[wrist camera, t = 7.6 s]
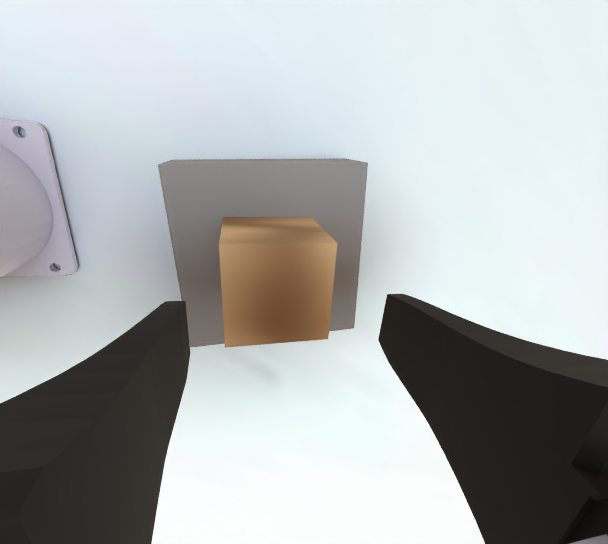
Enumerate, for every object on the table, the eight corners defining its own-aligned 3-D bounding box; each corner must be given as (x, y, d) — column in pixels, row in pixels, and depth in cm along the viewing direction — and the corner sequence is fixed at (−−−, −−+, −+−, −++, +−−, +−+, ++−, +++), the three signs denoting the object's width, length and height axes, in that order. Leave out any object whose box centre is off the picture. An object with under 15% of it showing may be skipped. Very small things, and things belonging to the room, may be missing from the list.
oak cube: (227, 297, 17) (224, 347, 13) (223, 216, 15) (218, 244, 11) (306, 293, 18) (327, 338, 14) (311, 217, 16) (337, 242, 12)
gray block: (197, 312, 21) (190, 347, 18) (174, 159, 17) (158, 164, 14) (335, 298, 23) (353, 328, 19) (342, 158, 19) (367, 162, 15)
